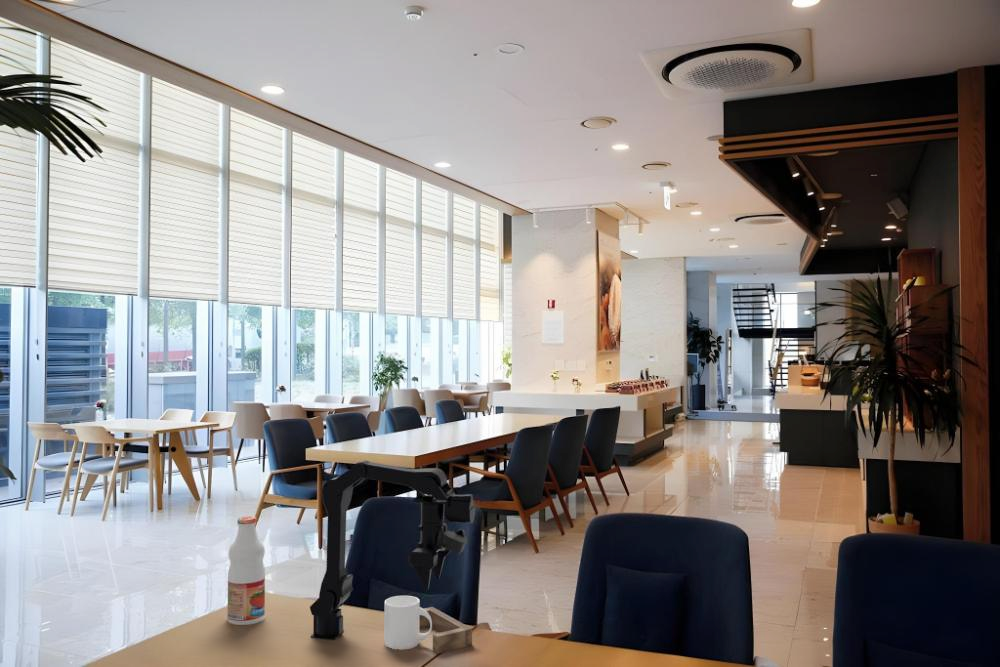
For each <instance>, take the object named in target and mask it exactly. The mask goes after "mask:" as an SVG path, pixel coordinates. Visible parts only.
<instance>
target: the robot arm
mask: <svg viewBox="0 0 1000 667" xmlns="http://www.w3.org/2000/svg"><path fill="white" fill-rule="evenodd" d="M365 479H367V480H373V481H379V482H385V483H390V484H396V485H401V486H405V487H408V488H411V489H412V490H413V491H415V492H418V495H417V496H416V497H415V498H414V499H412V503H415V504H417V503H418V504H420V525H418V526H417V527H418V528H417V529H418V531H419V532H420V541H419V542H418V543H417V548H415V549H414V550H413V551H411V552H410V553H409V554H408V564H410V566H411V567H412V568H413V570H414V572H415V574H416V576H417V579H418V580H419V582H420V584H421V587H422V589H423V590H424V591H428V590H430V589H429V588H430V582H431V576H432V574H433V578H434V579H435V580H440V578H441V574H442V571H443V567H444V563H445V559H446V557H447V556H448V554H450V553H451V552H453V554H456V555H460V554H461V553H463V551H464V550H465V546H466V544H467V543H468V537H467V535H466V531H465V530H464V529H462V528H459V529H458V530H457V531H456V532H455V531H453V530H452V531H451V530H448V524H447V523H445V519H446V520H448V523H460V524H461V523H464V524H473V523H474V521H475V518H476V517H475V515H476V506H475V501H474V499H473V497H474V494H471V493H470V494H469V493H468V494H467V493H466V494H456V493H455V491H454V489H453V488H452V486H451V485H450V484H449V482H448V481H447V480H448V478H447V475H446V473H445V472H444V470H442V469H440V468H437V467H436V468H429V467H428V468H416V469H415V468H407V467H402V466H401V467H400V466H394V465H388V464H385V463H384V464H382V463H378V462H371V461H369V460H362V461H359V462H356V463H355V464H354V465H353V466H352V467H351V468H349V469H348V470H346V471H345V472H344V473H342V474H341V475H339V476H336V477H334V478H330V479H328V480H327V481H326V482H325V483H324V484H322V486H321V487H322V488H321V494H322V496H321V497H322V504H323V506H324V509H325V510H326V513H327V525H326V526H327V531H326V532H327V533H326V566H325V568H326V569H325V573H324V576H323V579H322V581H321V584H320V589H319V595H318V598H317V599H316V600H315V601H314V602H313V603H312V604H311V605H310V606H309V610H310V612H311V616H313V620H312V621H313V624H312V625H313V627H312V629H313V631H312V634H311V635H310V638H311V639H319V638H320V639H321V640H331V641H332V640H334V641H335V640H336V639H337V638H338V637H339V636H340V635H342V633H344V631H345V630H344V615H342V608H341V607H343V605H344V602H345V601H346V600H347V599H348V598H349V597H350V595H351V592H352V591H353V590H354V587H353V584H352V583H353V578H354V575H353V574H348V573H347V570H346V538H347V537H346V536H347V534H346V532H347V511H348V509H349V506H350V503H351V501H352V497H353V491H354V488H355V487H356V486H357V485H359V484H360V483H361V482H362V481H364V480H365Z"/></svg>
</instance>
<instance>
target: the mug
mask: <svg viewBox="0 0 1000 667" xmlns="http://www.w3.org/2000/svg"><path fill="white" fill-rule="evenodd" d="M419 615H422V616H425V617H426V618H427V619H428V620H429V622H430V625H429V627H430V628H429V630H428V631H427V632H425V633H423V632H420V627H419ZM383 623H384V629H383V630H384V634H383V635H384V639H383V640H384V645H385V647H387V648H388V647H389V648H388V649H391V648H392V650H397V649H399V651H401V650H402V651H404V650H410V649H415V647H417V646H418V645H419V643H420V641H424V640H426V639H427V638H428V637H429V636H430V635H431V633H432V629H433V627H432V620H431V617H430V615H429V614H428V612H427V611H425V610H424V608H423V607H421V604H420V599H419V598H418V597H416V596H412V595H395V596H390V597H389V598H387V599H385V600H384V622H383Z"/></svg>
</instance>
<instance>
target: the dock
mask: <svg viewBox="0 0 1000 667" xmlns="http://www.w3.org/2000/svg"><path fill="white" fill-rule="evenodd" d="M423 609H424V610H425V611H427V612H428V614H429V615H430V617H431V620H432V629H434V630H436V631H438V633H434V634H432V652H433V653H435V654H441V653H446V652H449V651H455V650H458V649H461V648H465V647H470V646H473V628H472V627H470V626H468V625H466V624H464V623H462V622H461V621H459V620H457V619H455V618H454V617H452V616H450V615H448V614H446V613H445V612H442V611H441V610H440V609H437V608H436V607H433V606H430V607H426V608H425V607H424V608H423ZM427 626H430V622H429V620H428V619H427V618H426V617H425V616H422V615H419V628H421V627H427Z"/></svg>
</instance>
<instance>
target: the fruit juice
mask: <svg viewBox="0 0 1000 667" xmlns="http://www.w3.org/2000/svg"><path fill="white" fill-rule="evenodd" d="M257 522H258V519H257V517H256V516H242V517H238V518H237V526H238V530H237V534H236V537H235V540H234V541H233V542H232V544H231V545H230V546H229V549H228V558H229V561H230V565H229V568H228V570H227V571H228V572H227V620H226V621H227V622H228V623H229V624H231V625H236V626H239V625H240V626H241V625H242V626H243V625H244V626H246V625H253V624H257V623H261V622H263V621H264V619H266V618H265V614H266V611H265V608H266V607H265V606H266V605H265V604H266V602H265V601H266V600H265V599H266V594H265V593H266V568H265V565H264V561H263V560H264V557H265V550H266V549H265V545H264V544H263V542H262V541H261V540H260V539H259V535H258V533H257V529H256V525H257Z"/></svg>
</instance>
